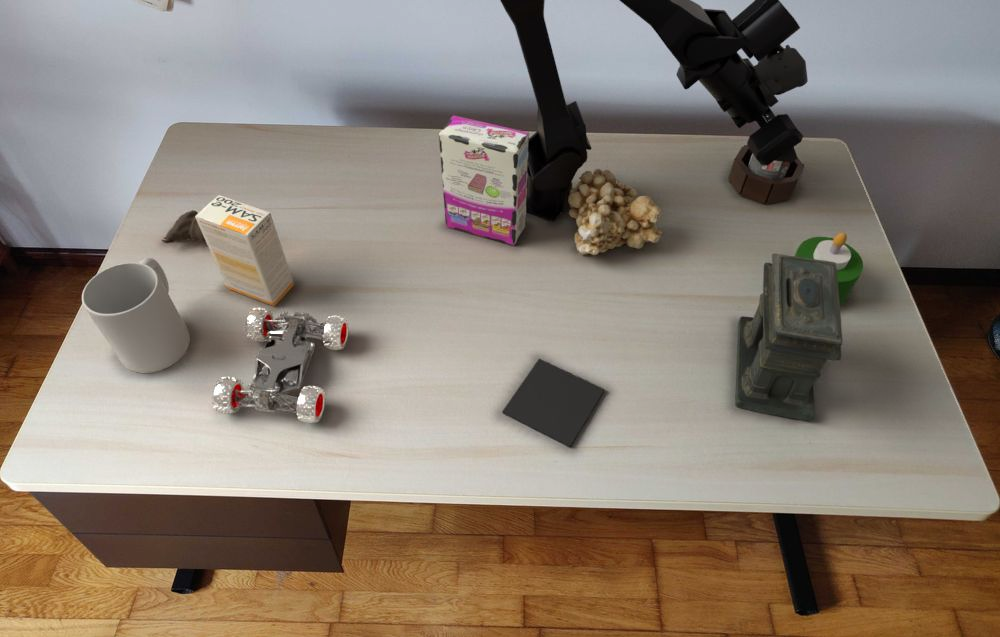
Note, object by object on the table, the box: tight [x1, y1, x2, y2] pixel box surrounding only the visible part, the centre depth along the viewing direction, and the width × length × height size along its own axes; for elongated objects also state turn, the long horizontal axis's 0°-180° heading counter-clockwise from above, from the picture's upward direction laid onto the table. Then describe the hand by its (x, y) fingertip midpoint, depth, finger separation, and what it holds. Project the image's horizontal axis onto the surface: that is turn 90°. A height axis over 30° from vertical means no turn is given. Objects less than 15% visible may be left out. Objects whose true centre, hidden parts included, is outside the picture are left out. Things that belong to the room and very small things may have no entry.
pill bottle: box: [748, 146, 796, 180], centre depth 106 cm, size 6×6×10 cm
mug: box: [81, 257, 191, 374], centre depth 85 cm, size 12×8×11 cm
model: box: [734, 253, 844, 422], centre depth 81 cm, size 14×9×15 cm, turn 168°
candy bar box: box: [438, 114, 530, 246], centre depth 96 cm, size 11×5×16 cm, turn 68°
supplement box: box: [195, 194, 295, 307], centre depth 90 cm, size 8×5×13 cm, turn 65°
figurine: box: [161, 209, 207, 244], centre depth 99 cm, size 6×4×12 cm
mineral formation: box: [568, 168, 662, 256], centre depth 100 cm, size 8×13×15 cm
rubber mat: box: [502, 358, 605, 449], centre depth 83 cm, size 9×9×1 cm
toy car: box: [211, 307, 350, 424], centre depth 84 cm, size 15×12×5 cm
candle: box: [794, 232, 864, 307], centre depth 92 cm, size 8×8×10 cm
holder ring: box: [727, 144, 805, 206], centre depth 108 cm, size 10×10×4 cm
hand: (781, 140), depth 104 cm, fingers open, 9 cm apart
